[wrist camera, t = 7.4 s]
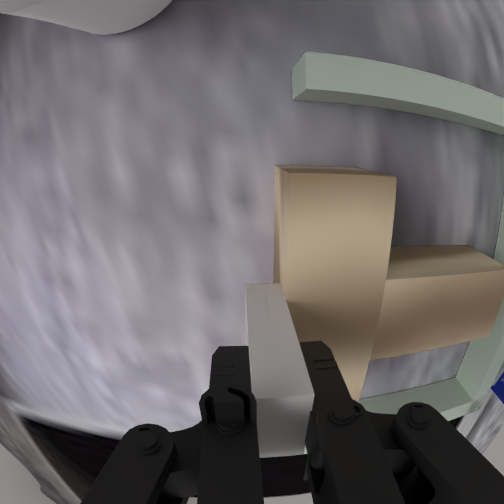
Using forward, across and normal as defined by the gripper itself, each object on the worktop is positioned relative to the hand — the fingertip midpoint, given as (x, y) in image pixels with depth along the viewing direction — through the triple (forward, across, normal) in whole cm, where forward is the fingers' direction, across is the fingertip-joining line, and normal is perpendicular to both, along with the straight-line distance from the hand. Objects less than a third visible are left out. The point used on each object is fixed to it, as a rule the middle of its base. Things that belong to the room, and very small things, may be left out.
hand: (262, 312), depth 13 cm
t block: (+3, +7, 0) cm, 7 cm away
